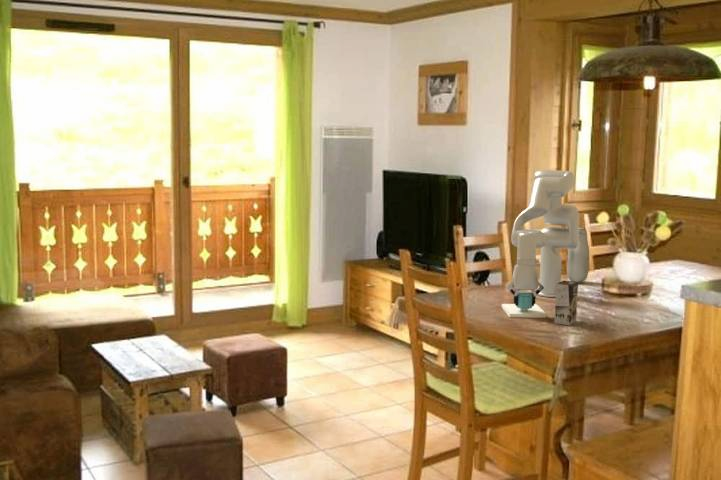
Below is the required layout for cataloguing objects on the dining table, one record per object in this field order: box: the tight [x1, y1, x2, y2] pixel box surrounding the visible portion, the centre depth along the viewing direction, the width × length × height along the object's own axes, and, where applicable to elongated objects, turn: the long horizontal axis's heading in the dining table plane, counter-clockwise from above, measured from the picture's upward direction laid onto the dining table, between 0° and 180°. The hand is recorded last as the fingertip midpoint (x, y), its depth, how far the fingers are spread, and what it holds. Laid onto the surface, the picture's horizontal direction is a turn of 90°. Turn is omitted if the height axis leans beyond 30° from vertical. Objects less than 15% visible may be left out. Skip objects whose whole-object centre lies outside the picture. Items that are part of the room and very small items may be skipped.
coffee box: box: [554, 280, 579, 326], centre depth 310 cm, size 9×6×16 cm
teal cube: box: [517, 291, 533, 309], centre depth 323 cm, size 6×6×6 cm
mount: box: [501, 303, 547, 319], centre depth 327 cm, size 15×18×8 cm
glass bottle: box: [566, 226, 590, 284], centre depth 390 cm, size 10×10×28 cm
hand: (524, 304), depth 323 cm, fingers closed on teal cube, 6 cm apart
